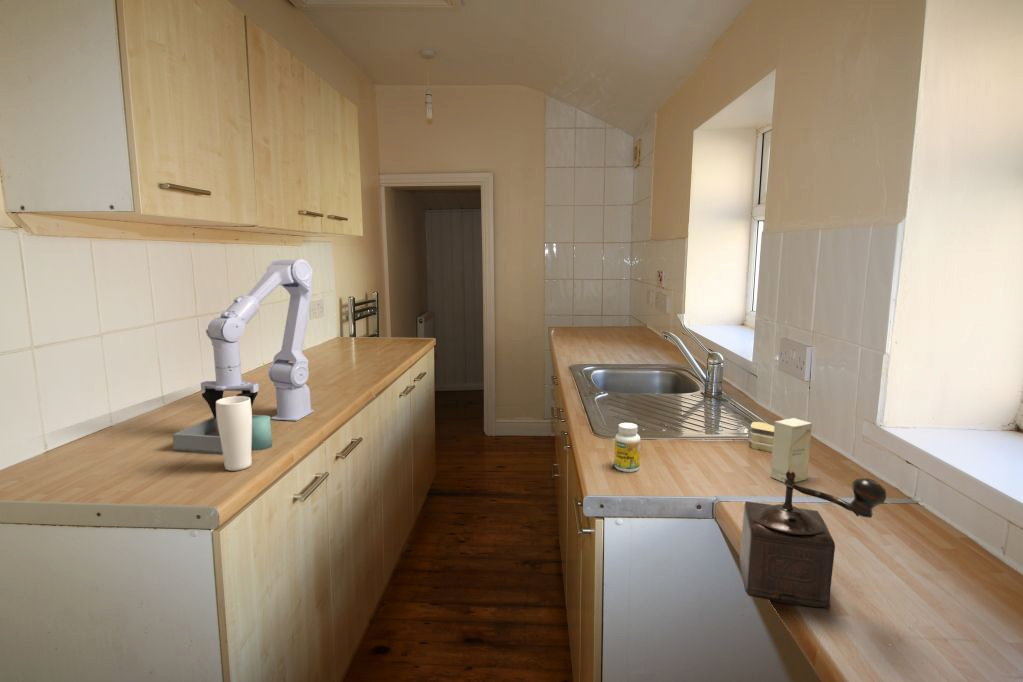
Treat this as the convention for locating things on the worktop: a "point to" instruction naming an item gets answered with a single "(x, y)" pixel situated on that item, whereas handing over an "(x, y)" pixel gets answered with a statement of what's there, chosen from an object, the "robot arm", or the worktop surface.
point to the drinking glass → (235, 431)
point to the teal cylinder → (261, 432)
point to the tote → (199, 438)
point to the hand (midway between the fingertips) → (232, 418)
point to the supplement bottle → (627, 448)
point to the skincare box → (791, 449)
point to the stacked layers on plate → (762, 436)
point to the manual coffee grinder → (796, 545)
